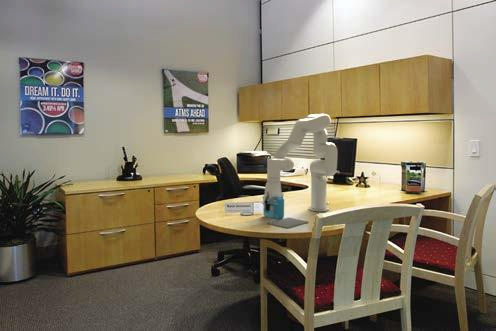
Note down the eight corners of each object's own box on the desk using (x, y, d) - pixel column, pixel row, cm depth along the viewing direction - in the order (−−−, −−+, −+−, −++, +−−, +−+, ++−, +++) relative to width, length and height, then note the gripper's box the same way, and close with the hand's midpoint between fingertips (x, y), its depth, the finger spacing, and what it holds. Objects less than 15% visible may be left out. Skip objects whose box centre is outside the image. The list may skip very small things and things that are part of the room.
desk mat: (288, 218, 225) (288, 217, 225) (308, 222, 215) (308, 221, 215) (267, 223, 213) (267, 222, 213) (287, 228, 203) (287, 227, 203)
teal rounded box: (263, 216, 231) (263, 196, 229) (268, 215, 234) (268, 195, 233) (279, 219, 222) (279, 198, 221) (284, 218, 226) (284, 197, 225)
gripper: (278, 178, 235) (278, 206, 236) (258, 180, 223) (258, 210, 224) (288, 179, 229) (287, 208, 231) (268, 182, 217) (267, 212, 219)
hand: (273, 209), depth 228 cm, fingers open, 9 cm apart
